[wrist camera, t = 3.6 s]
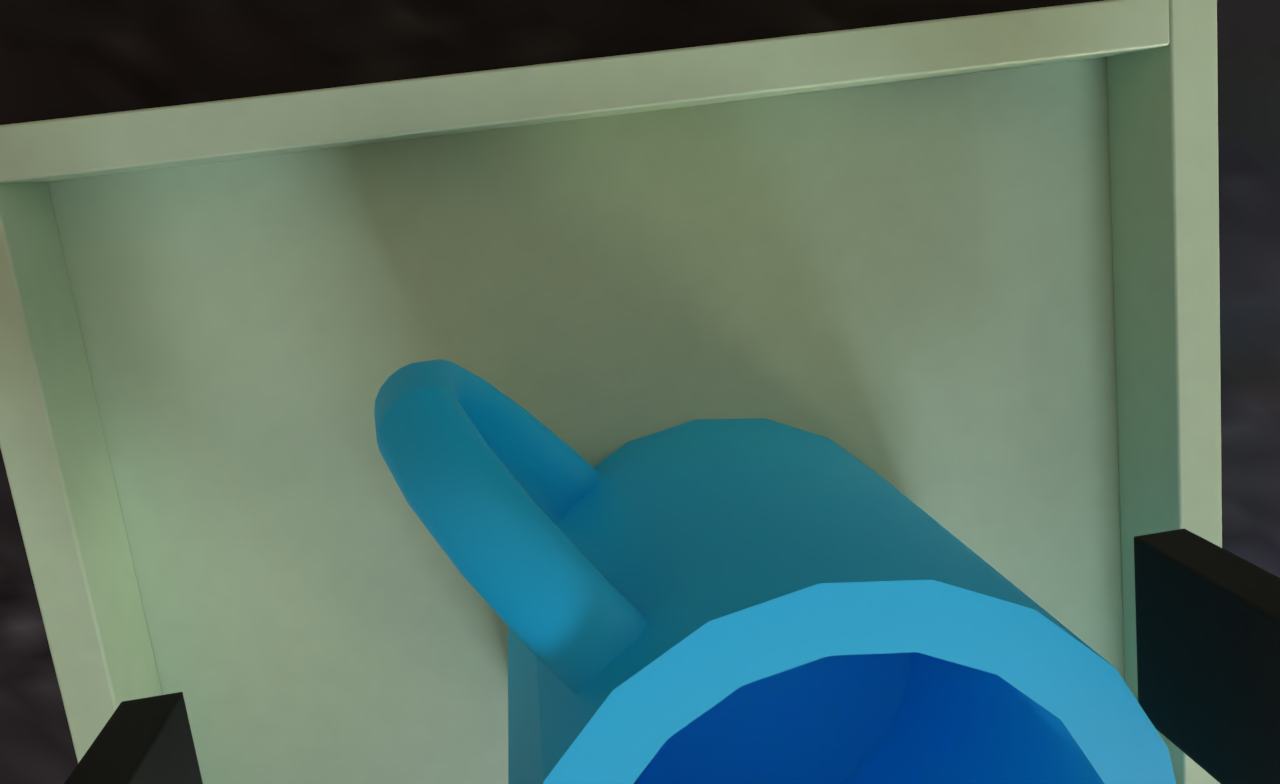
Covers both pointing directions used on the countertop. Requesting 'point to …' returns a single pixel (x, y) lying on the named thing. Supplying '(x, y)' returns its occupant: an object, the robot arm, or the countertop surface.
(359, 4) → the countertop surface
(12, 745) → the countertop surface
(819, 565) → the mug
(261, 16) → the countertop surface
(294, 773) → the tray
